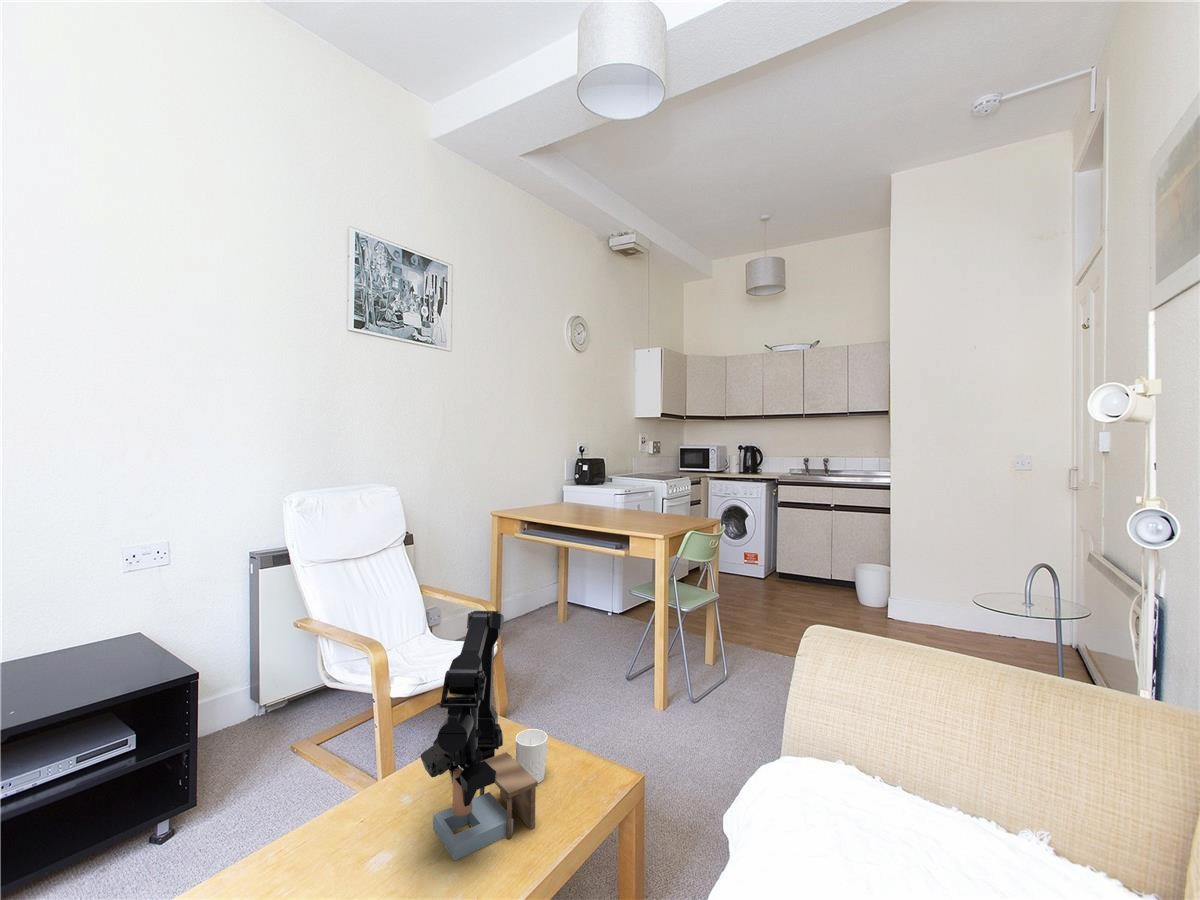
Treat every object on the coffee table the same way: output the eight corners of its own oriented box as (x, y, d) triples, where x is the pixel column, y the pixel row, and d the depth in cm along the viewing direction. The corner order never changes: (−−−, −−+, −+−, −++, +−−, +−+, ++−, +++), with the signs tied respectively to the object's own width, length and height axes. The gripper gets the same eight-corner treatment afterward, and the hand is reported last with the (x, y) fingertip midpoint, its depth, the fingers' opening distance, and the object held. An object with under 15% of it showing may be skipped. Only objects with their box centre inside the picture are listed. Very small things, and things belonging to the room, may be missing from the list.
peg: (449, 808, 114) (449, 770, 114) (467, 801, 117) (467, 763, 117) (457, 818, 111) (457, 779, 111) (475, 811, 114) (475, 772, 114)
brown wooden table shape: (478, 805, 124) (478, 762, 124) (505, 793, 128) (506, 751, 128) (507, 840, 113) (508, 793, 113) (536, 826, 117) (537, 781, 117)
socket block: (433, 828, 116) (433, 814, 116) (489, 804, 124) (489, 791, 124) (454, 860, 107) (454, 845, 107) (513, 832, 115) (513, 818, 115)
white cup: (553, 777, 135) (554, 737, 135) (528, 791, 129) (529, 749, 129) (532, 764, 140) (533, 725, 140) (508, 777, 134) (508, 737, 134)
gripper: (409, 719, 116) (408, 791, 116) (444, 759, 102) (442, 842, 102) (459, 704, 123) (458, 773, 123) (498, 740, 108) (496, 818, 109)
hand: (462, 800), depth 114 cm, fingers closed on peg, 4 cm apart
